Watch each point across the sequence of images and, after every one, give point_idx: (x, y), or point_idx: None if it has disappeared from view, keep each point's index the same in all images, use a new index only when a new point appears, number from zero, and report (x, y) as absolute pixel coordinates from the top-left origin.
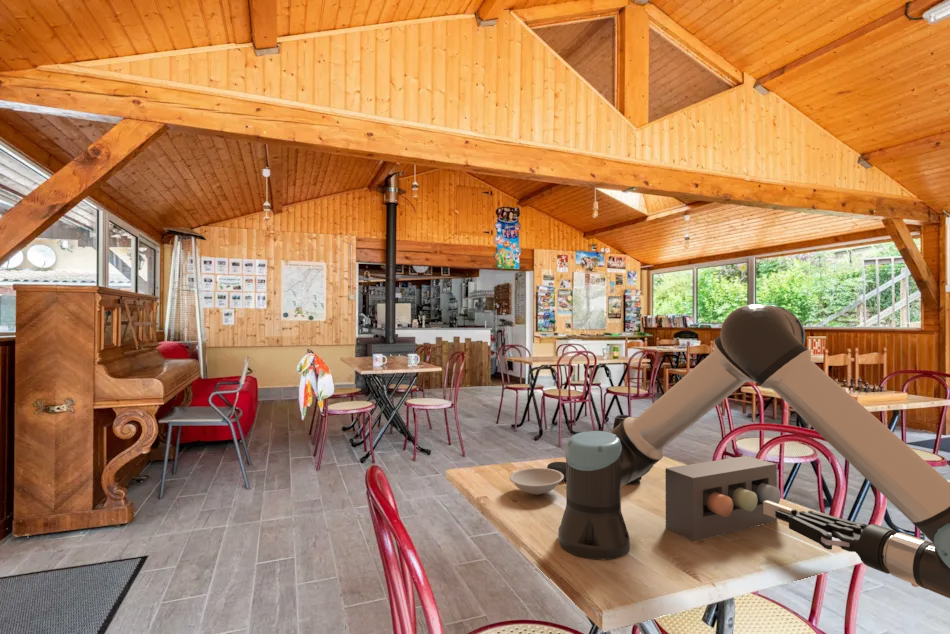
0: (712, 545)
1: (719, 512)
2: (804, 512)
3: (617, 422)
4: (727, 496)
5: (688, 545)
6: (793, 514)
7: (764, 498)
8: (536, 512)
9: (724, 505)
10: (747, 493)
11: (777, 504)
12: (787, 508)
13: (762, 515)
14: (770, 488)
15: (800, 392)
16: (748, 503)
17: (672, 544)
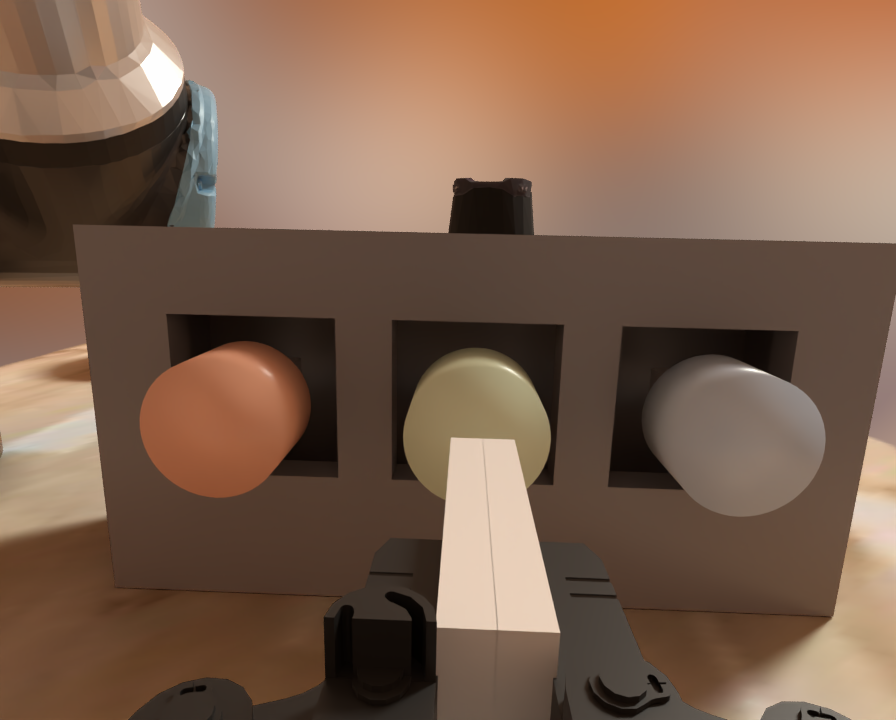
0: (131, 643)
1: (155, 458)
2: (637, 712)
3: (454, 194)
4: (222, 361)
5: (39, 599)
6: (330, 682)
7: (662, 448)
8: (55, 386)
9: (191, 419)
10: (443, 375)
11: (500, 485)
12: (487, 554)
13: (701, 558)
14: (719, 381)
15: None
16: (446, 448)
17: (3, 570)
